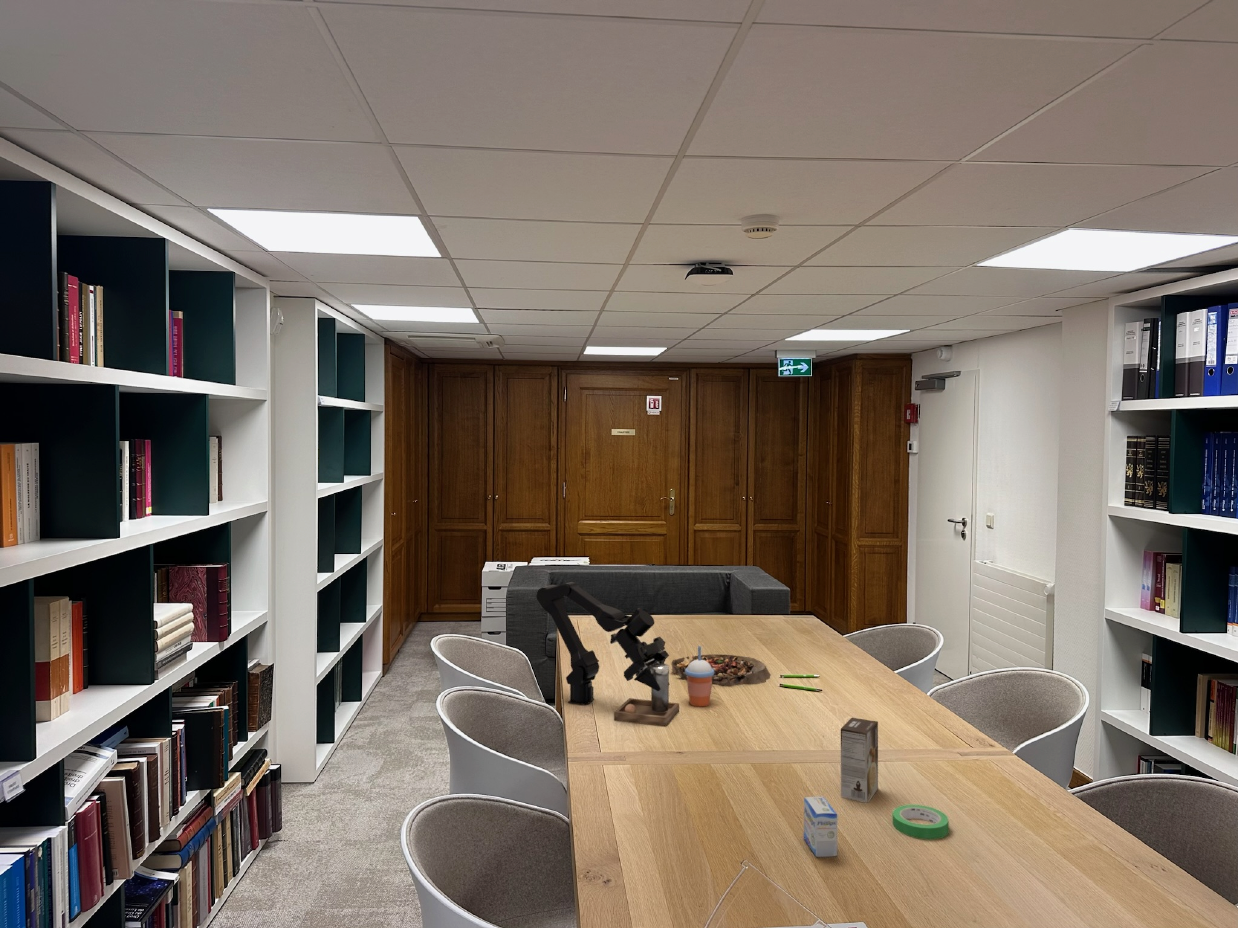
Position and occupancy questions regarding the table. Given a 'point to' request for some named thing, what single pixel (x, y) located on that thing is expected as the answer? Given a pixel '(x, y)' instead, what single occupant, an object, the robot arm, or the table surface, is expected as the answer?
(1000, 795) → the table surface
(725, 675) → the food dish
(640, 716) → the tray
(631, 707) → the ball
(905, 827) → the tape roll
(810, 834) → the medicine box
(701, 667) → the cup with straw
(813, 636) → the table surface
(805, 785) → the table surface
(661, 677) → the shaker
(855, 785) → the coffee box
